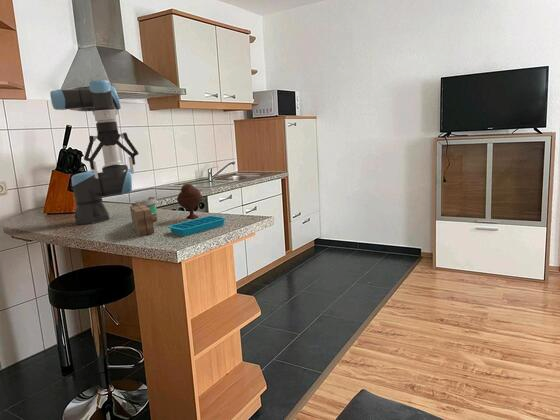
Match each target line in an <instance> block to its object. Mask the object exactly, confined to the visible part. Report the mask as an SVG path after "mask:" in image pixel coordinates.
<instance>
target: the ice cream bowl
mask: <svg viewBox="0 0 560 420" xmlns="http://www.w3.org/2000/svg"><path fill="white" fill-rule="evenodd" d="M202 200H203V194H201V192H200V190H199V189H198V188H197V187H194V185H192V184H190V183H185V184H183V185H182V187H181V189H180V192H179V193H178V194H177V198H176V201H177V203H178V205H179V206H180V207H181V208H183V209H186V210H188V212H189V214H188V215H187V216H186V219H185V220H187V219H192V220H195V219H196V218H197V219H199V215H197V214H194V209H196V208H197V207H198V206H199V205H200V204H201V203H202Z"/></svg>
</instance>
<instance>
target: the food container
mask: <svg viewBox="0 0 560 420" xmlns="http://www.w3.org/2000/svg"><path fill="white" fill-rule="evenodd" d="M134 203H140V205H143V204H144V205H145V206H146V207H148V208H149V209H151V214H152V220H153V223H155V222H158V214H157V212H158V211H157V203H158V200H157V198H156V197H154V196H149V197H148V199H145V200H140V201H135V202H134Z"/></svg>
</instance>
